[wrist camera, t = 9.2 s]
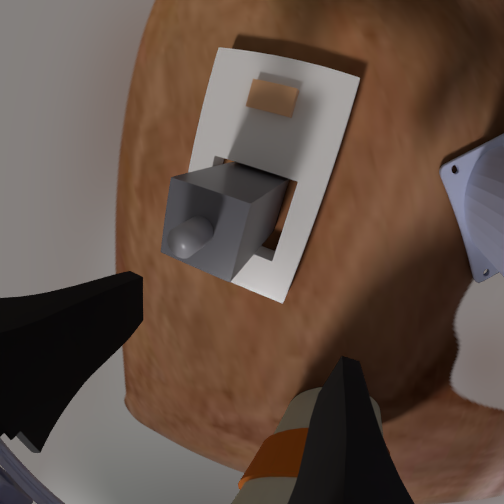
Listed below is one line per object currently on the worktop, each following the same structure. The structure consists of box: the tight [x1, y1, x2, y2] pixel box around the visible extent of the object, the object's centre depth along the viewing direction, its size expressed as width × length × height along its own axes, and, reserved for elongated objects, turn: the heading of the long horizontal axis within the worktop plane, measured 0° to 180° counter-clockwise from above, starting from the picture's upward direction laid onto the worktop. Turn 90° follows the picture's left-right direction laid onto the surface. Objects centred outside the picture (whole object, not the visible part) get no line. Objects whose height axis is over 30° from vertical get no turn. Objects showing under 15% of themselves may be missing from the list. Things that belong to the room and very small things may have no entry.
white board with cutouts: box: [188, 47, 360, 303], centre depth 16 cm, size 14×8×2 cm, turn 165°
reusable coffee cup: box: [231, 387, 390, 504], centre depth 16 cm, size 13×13×15 cm
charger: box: [161, 162, 289, 282], centre depth 14 cm, size 4×4×8 cm
